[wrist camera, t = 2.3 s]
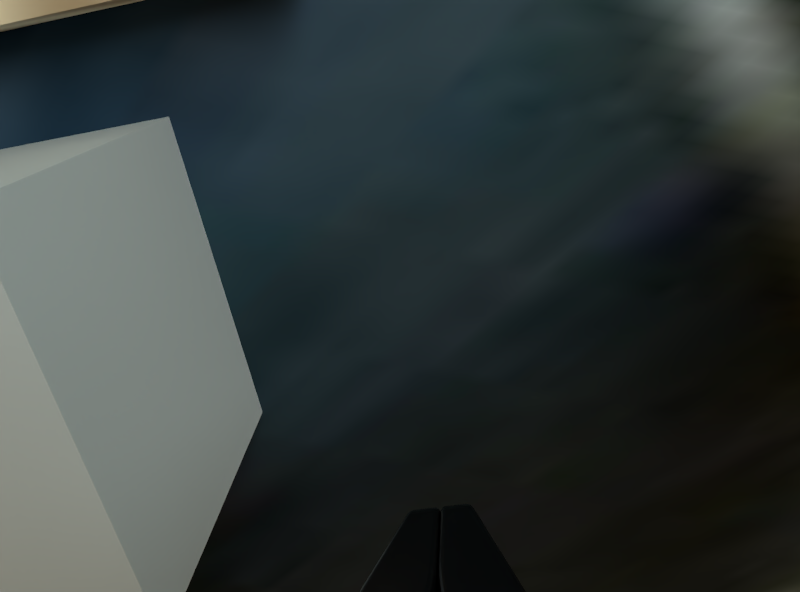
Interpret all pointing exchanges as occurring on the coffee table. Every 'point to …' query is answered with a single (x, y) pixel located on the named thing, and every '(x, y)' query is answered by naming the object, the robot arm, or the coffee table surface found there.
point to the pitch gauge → (48, 10)
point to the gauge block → (112, 367)
